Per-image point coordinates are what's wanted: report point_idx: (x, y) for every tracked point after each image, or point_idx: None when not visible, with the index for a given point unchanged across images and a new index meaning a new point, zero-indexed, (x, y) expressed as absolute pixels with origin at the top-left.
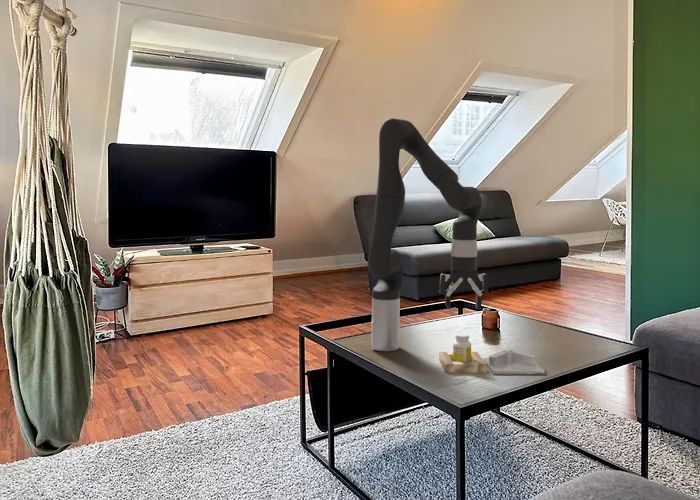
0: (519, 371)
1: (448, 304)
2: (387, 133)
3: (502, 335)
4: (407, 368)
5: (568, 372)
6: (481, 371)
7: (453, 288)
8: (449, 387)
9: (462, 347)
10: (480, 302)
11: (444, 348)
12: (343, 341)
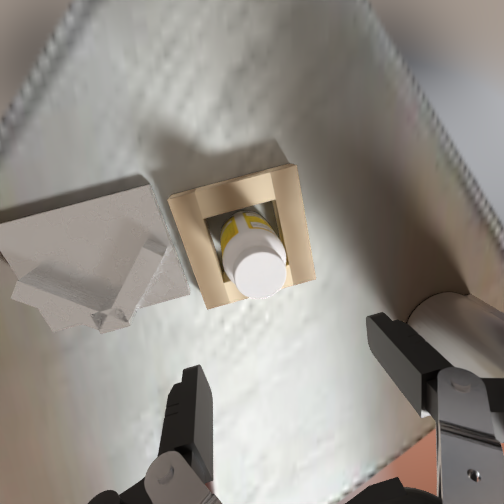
0: (65, 206)
1: (397, 326)
2: None
3: None
4: (393, 174)
5: None
6: (184, 191)
7: (472, 447)
8: (273, 14)
9: (252, 229)
10: (172, 409)
11: (295, 357)
12: None
